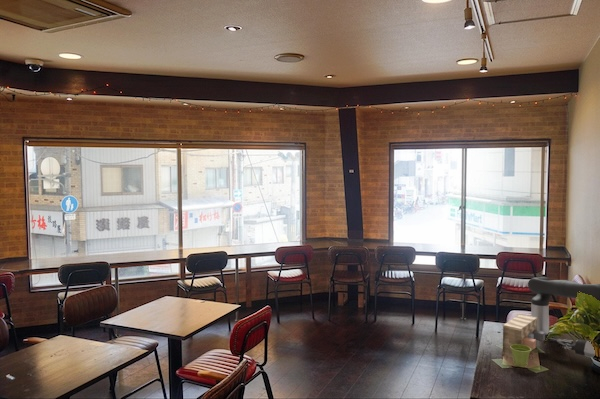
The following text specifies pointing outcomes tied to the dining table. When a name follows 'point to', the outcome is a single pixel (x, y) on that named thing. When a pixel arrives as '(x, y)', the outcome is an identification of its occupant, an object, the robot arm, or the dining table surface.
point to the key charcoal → (539, 335)
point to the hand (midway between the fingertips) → (549, 340)
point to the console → (517, 332)
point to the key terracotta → (529, 342)
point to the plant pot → (520, 354)
